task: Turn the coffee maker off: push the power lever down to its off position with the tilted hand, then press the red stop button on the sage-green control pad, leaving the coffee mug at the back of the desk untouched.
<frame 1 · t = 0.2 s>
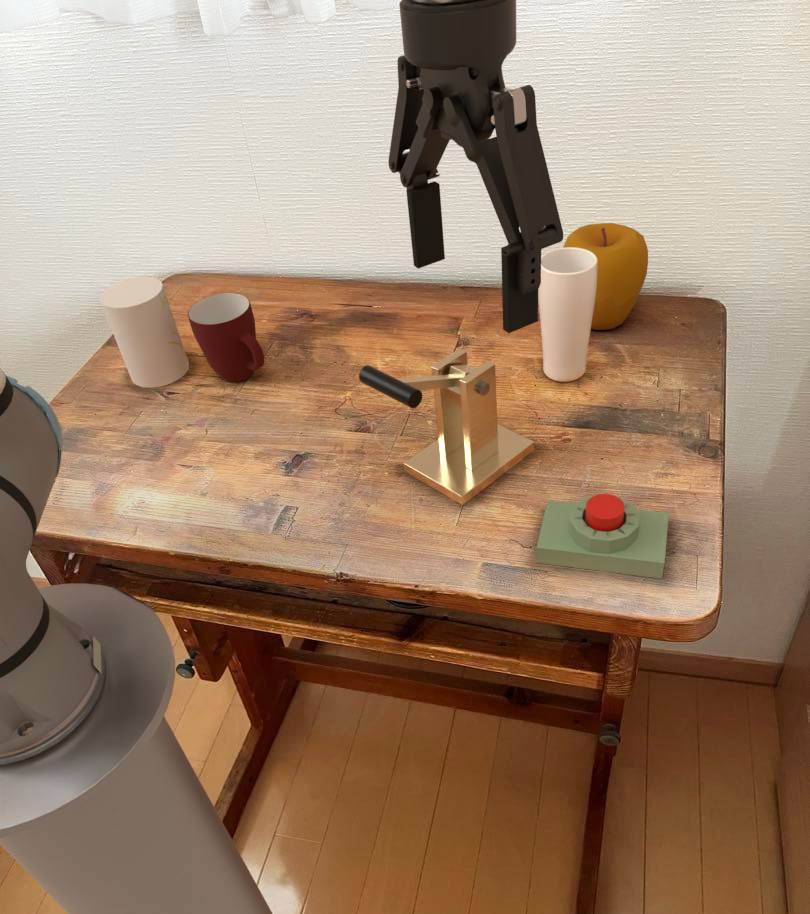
hand: (472, 292, 68), 27 cm above the table, tool pointing down, fingers open, 13 cm apart
power lever: (430, 382, 83), point 13 cm above the table, hinge at 25.0°
power switch: (469, 461, 95), on the table
stop button: (604, 512, 80), point 4 cm above the table, slide at 0.1 cm
drinking glass: (564, 373, 105), on the table
control pad: (602, 545, 83), on the table
mug: (245, 378, 112), on the table
apple: (600, 321, 113), on the table
cup: (160, 372, 116), on the table
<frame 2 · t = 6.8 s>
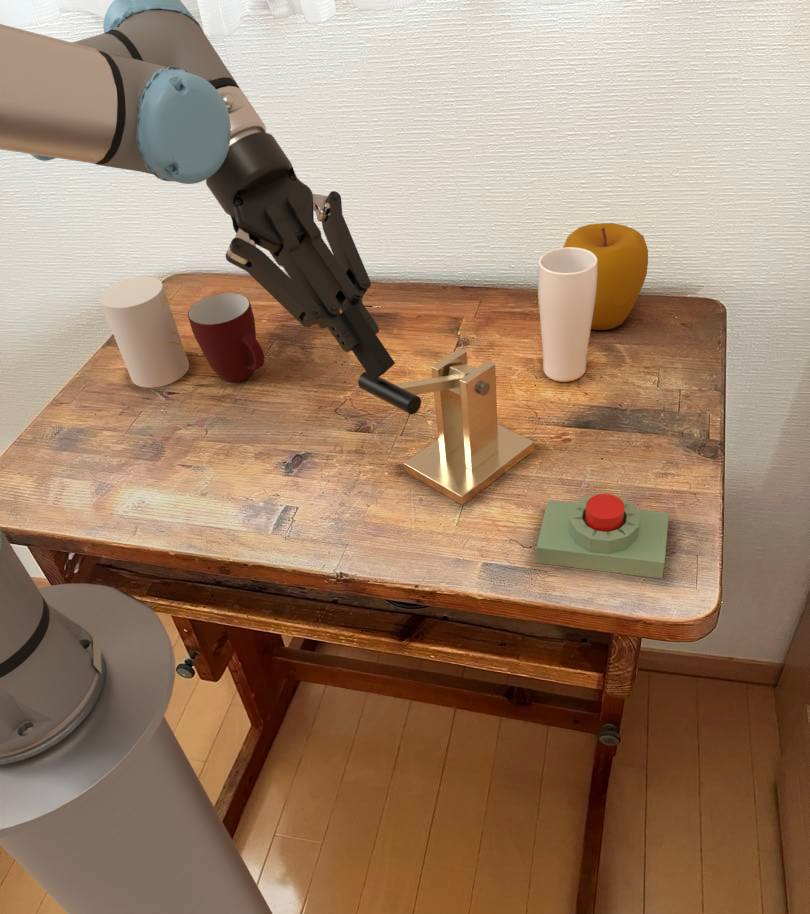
hand: (383, 371, 78), 17 cm above the table, tool tilted 45°, fingers closed
power lever: (429, 385, 83), point 13 cm above the table, hinge at 21.8°, touching gripper
everything else where it was.
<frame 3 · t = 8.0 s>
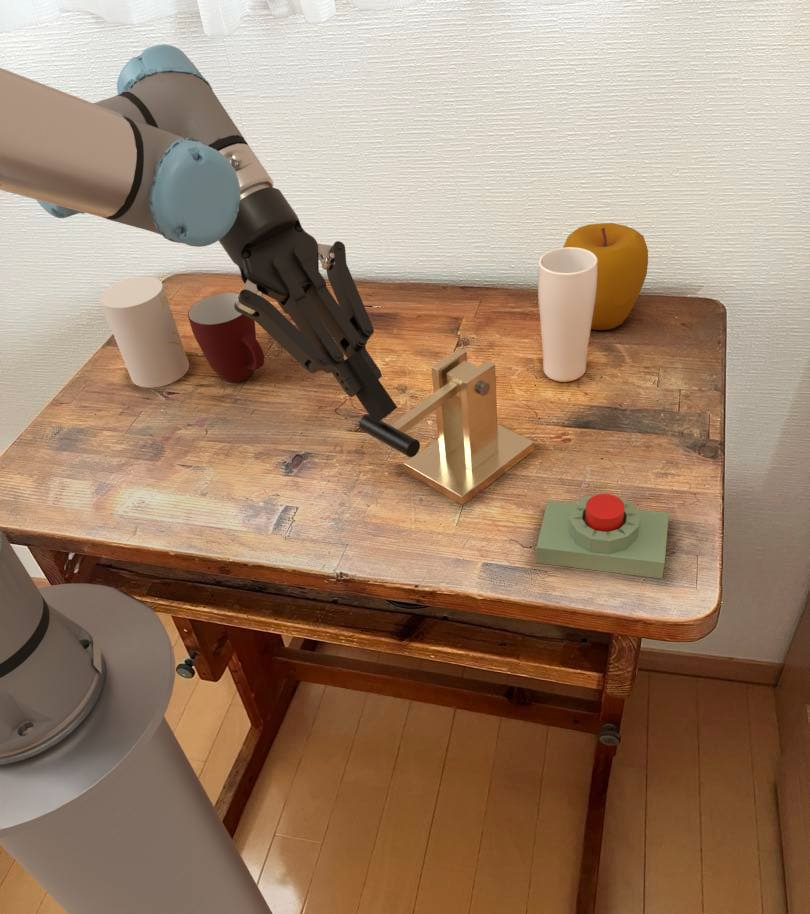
hand: (386, 415, 81), 13 cm above the table, tool tilted 45°, fingers closed
power lever: (429, 405, 85), point 11 cm above the table, hinge at -3.1°, touching gripper
everything else where it was.
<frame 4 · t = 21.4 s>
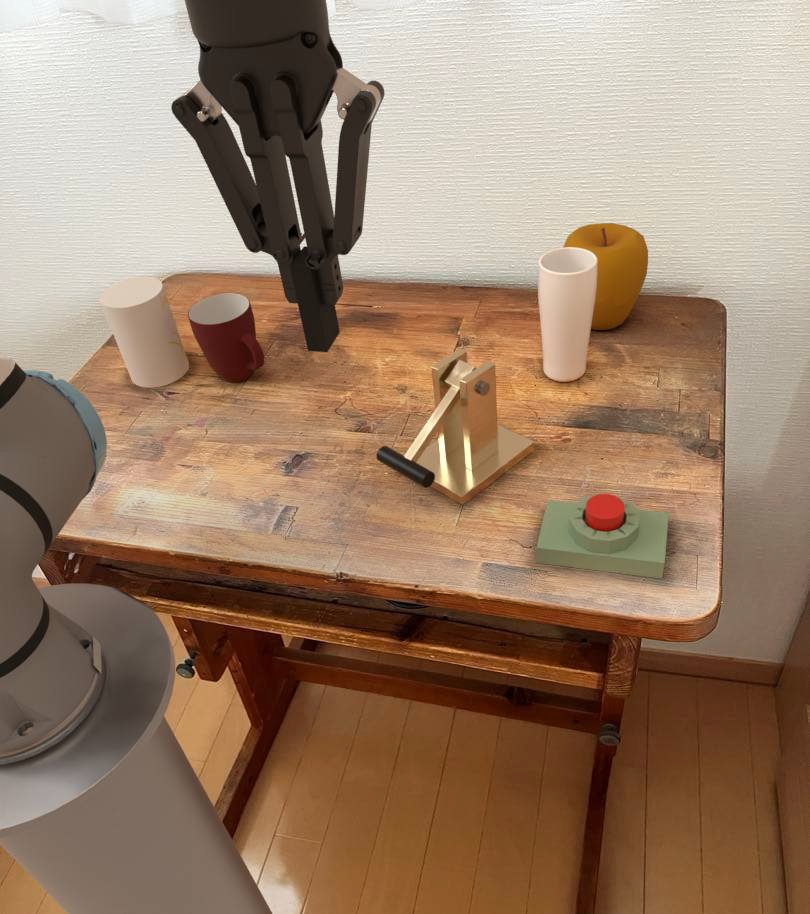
hand: (324, 341, 60), 29 cm above the table, tool pointing down, fingers closed
power lever: (436, 421, 87), point 8 cm above the table, hinge at -30.6°
everything else where it was.
at the end: power lever at -31° (first picture: +25°); stop button pushed in 1.0 cm at the most during the clip, back to where it started at the end; mug moved 0.2 cm from its start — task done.
